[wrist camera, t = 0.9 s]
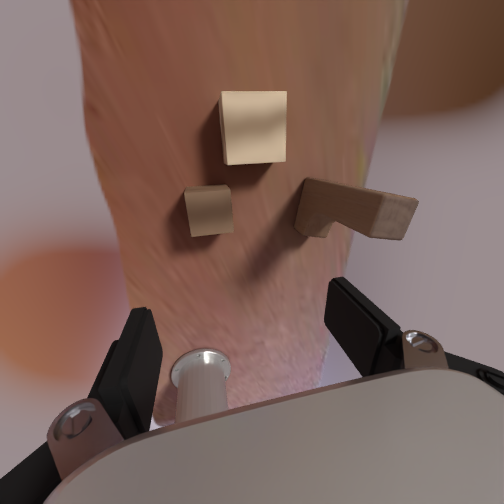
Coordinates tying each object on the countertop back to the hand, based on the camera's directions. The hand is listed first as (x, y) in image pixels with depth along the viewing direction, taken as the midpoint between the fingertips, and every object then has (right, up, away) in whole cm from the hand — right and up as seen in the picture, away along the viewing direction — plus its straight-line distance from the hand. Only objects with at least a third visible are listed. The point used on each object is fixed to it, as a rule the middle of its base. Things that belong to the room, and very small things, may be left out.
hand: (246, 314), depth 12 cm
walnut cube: (-7, +11, +24) cm, 27 cm away
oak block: (0, +21, +21) cm, 30 cm away
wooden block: (+10, +12, +28) cm, 32 cm away
